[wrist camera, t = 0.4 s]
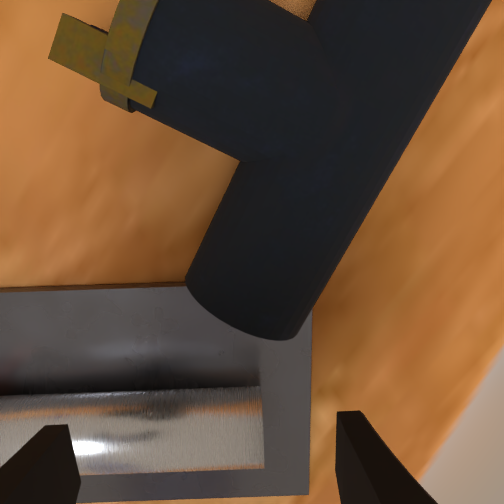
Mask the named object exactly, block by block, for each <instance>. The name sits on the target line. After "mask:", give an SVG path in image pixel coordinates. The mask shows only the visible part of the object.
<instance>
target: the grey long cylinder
mask: <svg viewBox="0 0 504 504" xmlns="http://www.w3.org/2000/svg"><path fill="white" fill-rule="evenodd" d="M60 424H68V427H69V431H70V435H71V440H72V444H73V448H74V453H75V457H76V461H77V466H78V470H79V474H80V475H106V474H132V473H158V472H184V471H210V470H237V469H263V468H264V437H263V412H262V393H261V386H249V387H222V388H195V389H168V390H141V391H114V392H87V393H60V394H33V395H6V396H3V395H0V467H1V466H2V465H3V464H5V463H6V462H7V461H8V460H9V459H10V458H11V457H12V456H13V455H14V454H15V453H16V452H17V451H18V450H19V449H20V448H21V447H22V446H23V445H25V444H26V443H27V442H28V441H29V440H30V439H31V438H32V437H33V436H34V435H35V434H36V433H37V432H38V431H39V430H40V429H42V428H43V427H44V426H45V425H60Z"/></svg>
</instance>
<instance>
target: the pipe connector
mask: <svg viewBox="0 0 504 504" xmlns="http://www.w3.org/2000/svg"><path fill="white" fill-rule="evenodd" d="M491 1H492V0H317V1H316V3H315V5H314V7H313V9H312V11H311V13H310V15H309V17H308V19H307V21H305V20H303V19H301V18H299V17H298V16H296V15H294V14H292V13H290V12H289V11H287V10H285V9H283V8H281V7H280V6H278V5H276V4H274V3H272V2H271V1H269V0H120V1H119V4H118V6H117V9H116V11H115V15H114V18H113V21H112V24H111V27H110V30H109V33H108V32H107V31H105V30H103V29H100V28H98V27H96V26H93V25H89V24H87V23H85V22H83V21H81V20H79V19H77V18H74V17H72V16H69V15H67V14H65V13H62V16H61V19H60V22H59V25H58V29H57V32H56V35H55V38H54V41H53V44H52V47H51V50H50V54H49V57H48V59H50V60H52V61H54V62H56V63H58V64H60V65H62V66H65V67H67V68H69V69H71V70H73V71H75V72H77V73H79V74H81V75H83V76H85V77H87V78H89V79H91V80H93V81H95V82H97V83H99V84H100V92H101V96H102V98H103V99H104V100H105V101H107V102H109V103H111V104H114V105H116V106H118V107H120V108H122V109H124V110H126V111H128V112H131V113H133V112H134V111H136V110H137V111H139V112H141V113H143V114H145V115H147V116H149V117H151V118H153V119H155V120H157V121H159V122H161V123H163V124H165V125H167V126H170V127H172V128H174V129H176V130H178V131H180V132H182V133H184V134H186V135H188V136H190V137H192V138H194V139H196V140H198V141H200V142H202V143H205V144H207V145H209V146H211V147H213V148H215V149H217V150H219V151H221V152H223V153H225V154H227V155H229V156H231V157H233V158H235V159H238V160H240V163H239V165H238V167H237V169H236V171H235V173H234V175H233V177H232V180H231V182H230V184H229V186H228V188H227V190H226V192H225V194H224V196H223V199H222V201H221V203H220V205H219V207H218V209H217V211H216V213H215V215H214V217H213V220H212V222H211V224H210V226H209V228H208V230H207V232H206V234H205V236H204V239H203V241H202V243H201V245H200V247H199V249H198V251H197V253H196V255H195V258H194V260H193V262H192V264H191V266H190V268H189V270H188V272H187V274H186V276H185V283H186V286H187V289H188V290H189V292H190V293H191V295H192V296H193V297H194V299H195V300H196V301H197V302H198V303H199V304H200V305H201V306H202V307H203V308H205V309H206V310H207V311H208V312H209V313H211V314H212V315H214V316H215V317H216V318H218V319H219V320H221V321H223V322H224V323H226V324H228V325H230V326H231V327H233V328H236V329H238V330H240V331H242V332H244V333H247V334H250V335H252V336H255V337H259V338H263V339H267V340H274V341H286V340H289V339H292V338H294V337H295V336H296V335H297V334H298V332H299V330H300V329H301V327H302V325H303V324H304V322H305V320H306V318H307V317H308V315H309V313H310V312H311V310H312V308H313V306H314V305H315V303H316V301H317V300H318V298H319V296H320V294H321V293H322V291H323V289H324V288H325V286H326V284H327V282H328V281H329V279H330V277H331V275H332V274H333V272H334V270H335V269H336V267H337V265H338V263H339V262H340V260H341V258H342V257H343V255H344V253H345V251H346V250H347V248H348V246H349V245H350V243H351V241H352V239H353V238H354V236H355V234H356V233H357V231H358V229H359V227H360V226H361V224H362V222H363V221H364V219H365V217H366V215H367V214H368V212H369V210H370V209H371V207H372V205H373V203H374V202H375V200H376V198H377V197H378V195H379V193H380V191H381V190H382V188H383V186H384V185H385V183H386V181H387V179H388V178H389V176H390V174H391V173H392V171H393V169H394V167H395V166H396V164H397V162H398V161H399V159H400V157H401V155H402V154H403V152H404V150H405V149H406V147H407V145H408V143H409V142H410V140H411V138H412V137H413V135H414V133H415V131H416V130H417V128H418V126H419V125H420V123H421V121H422V119H423V118H424V116H425V114H426V113H427V111H428V109H429V107H430V106H431V104H432V102H433V101H434V99H435V97H436V95H437V94H438V92H439V90H440V88H441V87H442V85H443V83H444V82H445V80H446V78H447V76H448V75H449V73H450V71H451V70H452V68H453V66H454V64H455V63H456V61H457V59H458V58H459V56H460V54H461V52H462V51H463V49H464V47H465V46H466V44H467V42H468V40H469V39H470V37H471V35H472V34H473V32H474V30H475V28H476V27H477V25H478V23H479V22H480V20H481V18H482V16H483V15H484V13H485V11H486V10H487V8H488V6H489V4H490V3H491Z"/></svg>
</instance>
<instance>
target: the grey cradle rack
mask: <svg viewBox="0 0 504 504" xmlns="http://www.w3.org/2000/svg"><path fill="white" fill-rule="evenodd" d="M311 351H312V310H311V312H310V313H309V315H308V317H307V318H306V320H305V322H304V324H303V325H302V327H301V329H300V330H299V332H298V334H297V335H296V336H295V337H294V338H292V339H289V340H286V341H274V340H267V339H263V338H259V337H255V336H252V335H250V334H247V333H244V332H242V331H240V330H238V329H236V328H233V327H231V326H230V325H228V324H226V323H224V322H223V321H221V320H219V319H218V318H216V317H215V316H214V315H212V314H211V313H209V312H208V311H207V310H206V309H205V308H203V307H202V306H201V305H200V304H199V303H198V302H197V301H196V300H195V299H194V297H193V296H192V295H191V293H190V292H189V290H188V289H187V286H186V283H185V282H166V283H136V284H107V285H77V286H48V287H18V288H0V395H3V396H6V395H33V394H60V393H87V392H114V391H141V390H168V389H195V388H222V387H249V386H261V393H262V412H263V437H264V468H263V469H237V470H210V471H184V472H158V473H132V474H106V475H80V478H81V486H80V489H79V493H78V497H77V501H76V503H92V502H120V501H148V500H177V499H205V498H233V497H261V496H290V495H309V457H310V404H311Z"/></svg>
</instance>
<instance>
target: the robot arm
mask: <svg viewBox="0 0 504 504" xmlns="http://www.w3.org/2000/svg"><path fill="white" fill-rule="evenodd" d="M335 472H336V477H337V483H338V489H339V495H340V500H341V504H438V503H437V502H436V501H435V500H434V499H433V498H432V497H431V496H430V495H429V494H428V493H427V492H426V491H425V490H424V489H423V487H422V486H421V485H420V484H419V483H418V482H417V481H416V480H415V479H414V478H413V476H412V475H411V474H410V473H409V472H408V471H407V469H406V468H405V467H404V466H403V465H402V464H401V462H400V461H399V460H398V459H397V458H396V456H395V455H394V454H393V453H392V452H391V450H390V449H389V448H388V447H387V445H386V444H385V443H384V441H383V440H382V439H381V437H380V436H379V435H378V433H377V432H376V431H375V429H374V428H373V427H372V425H371V424H370V423H369V421H368V420H367V418H366V417H365V415H364V414H363V413H362V412H361V411H340V412H337V426H336V463H335ZM80 486H81V478H80V474H79V470H78V466H77V461H76V457H75V453H74V448H73V444H72V440H71V435H70V431H69V427H68V424H60V425H45V426H44V427H43V428H42V429H40V430H39V431H38V432H37V433H36V434H35V435H34V436H33V437H32V438H31V439H30V440H29V441H28V442H27V443H26V444H25V445H23V446H22V447H21V448H20V449H19V450H18V451H17V452H16V453H15V454H14V455H13V456H12V457H11V458H10V459H9V460H8V461H7V462H6V463H5V464H3V465H2V466H1V467H0V504H76V501H77V497H78V493H79V489H80Z"/></svg>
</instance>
